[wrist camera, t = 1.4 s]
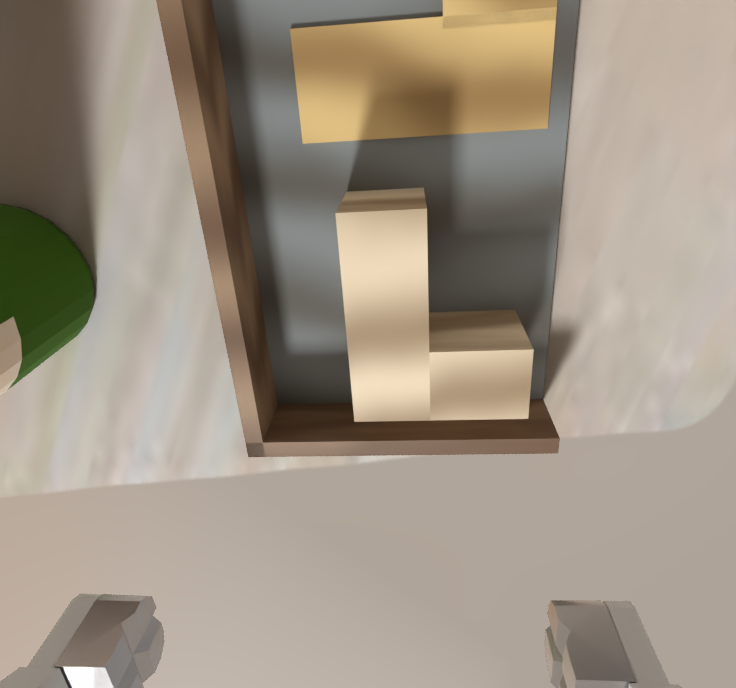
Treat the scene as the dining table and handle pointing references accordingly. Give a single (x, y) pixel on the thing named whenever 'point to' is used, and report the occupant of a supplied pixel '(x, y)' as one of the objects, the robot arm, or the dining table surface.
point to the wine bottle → (38, 292)
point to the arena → (371, 172)
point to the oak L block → (419, 325)
